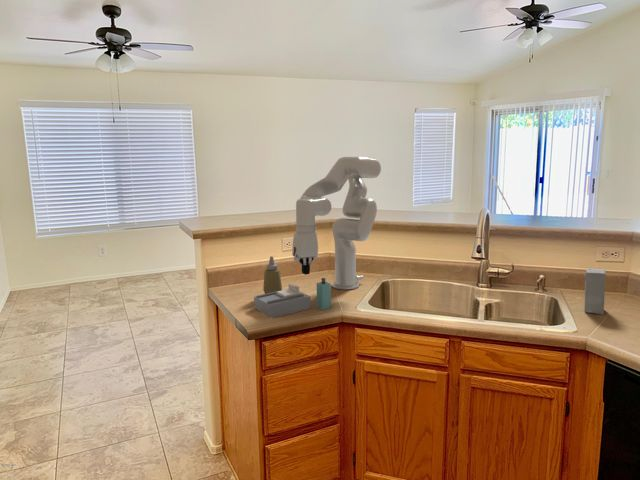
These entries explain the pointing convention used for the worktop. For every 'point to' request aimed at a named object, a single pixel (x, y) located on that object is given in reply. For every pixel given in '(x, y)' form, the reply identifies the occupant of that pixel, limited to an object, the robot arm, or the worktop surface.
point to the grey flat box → (281, 303)
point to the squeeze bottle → (272, 278)
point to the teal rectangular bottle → (323, 294)
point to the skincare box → (595, 291)
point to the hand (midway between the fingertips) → (305, 273)
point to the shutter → (289, 291)
